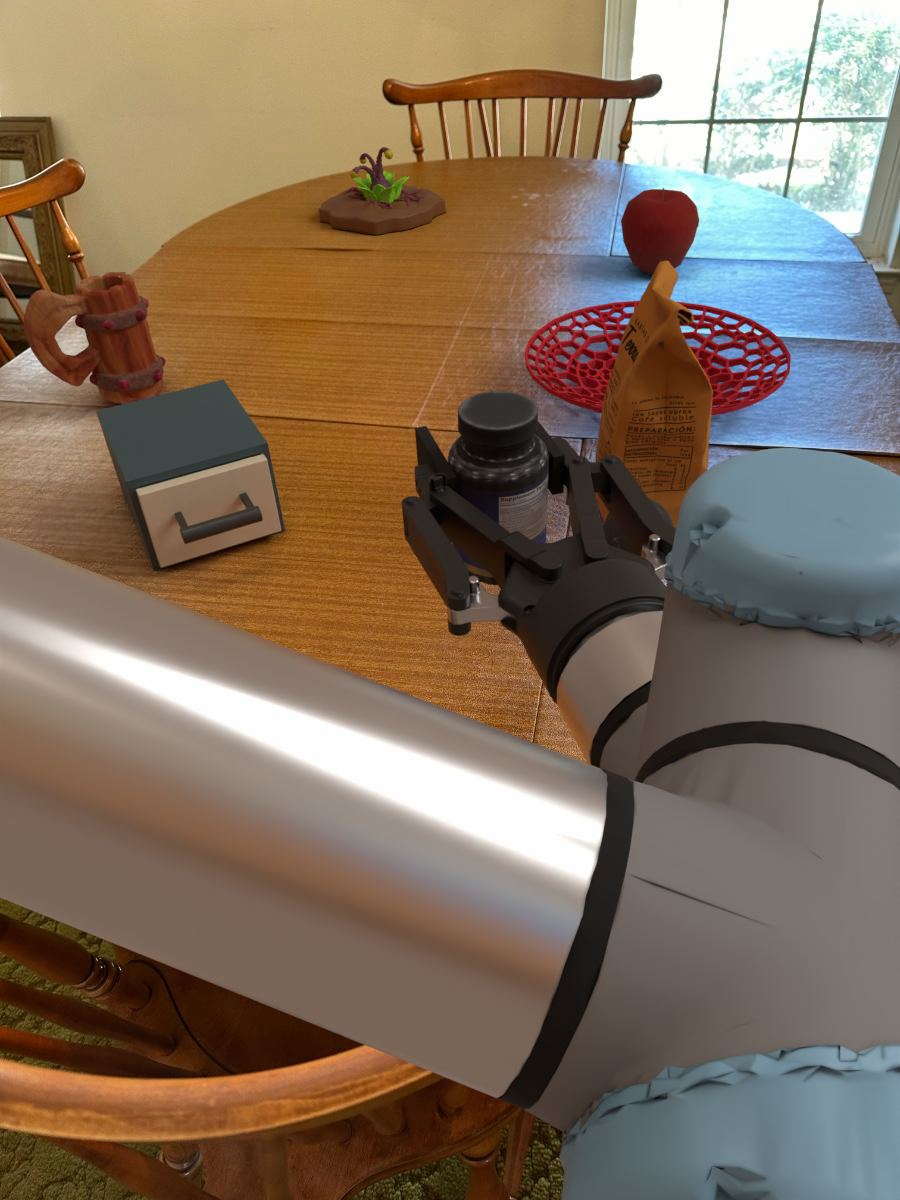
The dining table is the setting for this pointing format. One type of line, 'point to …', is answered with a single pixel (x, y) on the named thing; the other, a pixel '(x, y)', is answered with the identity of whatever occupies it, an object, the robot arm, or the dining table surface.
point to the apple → (659, 228)
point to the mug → (98, 337)
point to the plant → (380, 202)
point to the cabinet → (178, 442)
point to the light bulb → (616, 535)
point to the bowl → (726, 400)
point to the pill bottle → (502, 466)
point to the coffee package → (657, 400)
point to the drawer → (209, 509)
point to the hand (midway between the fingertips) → (472, 435)
